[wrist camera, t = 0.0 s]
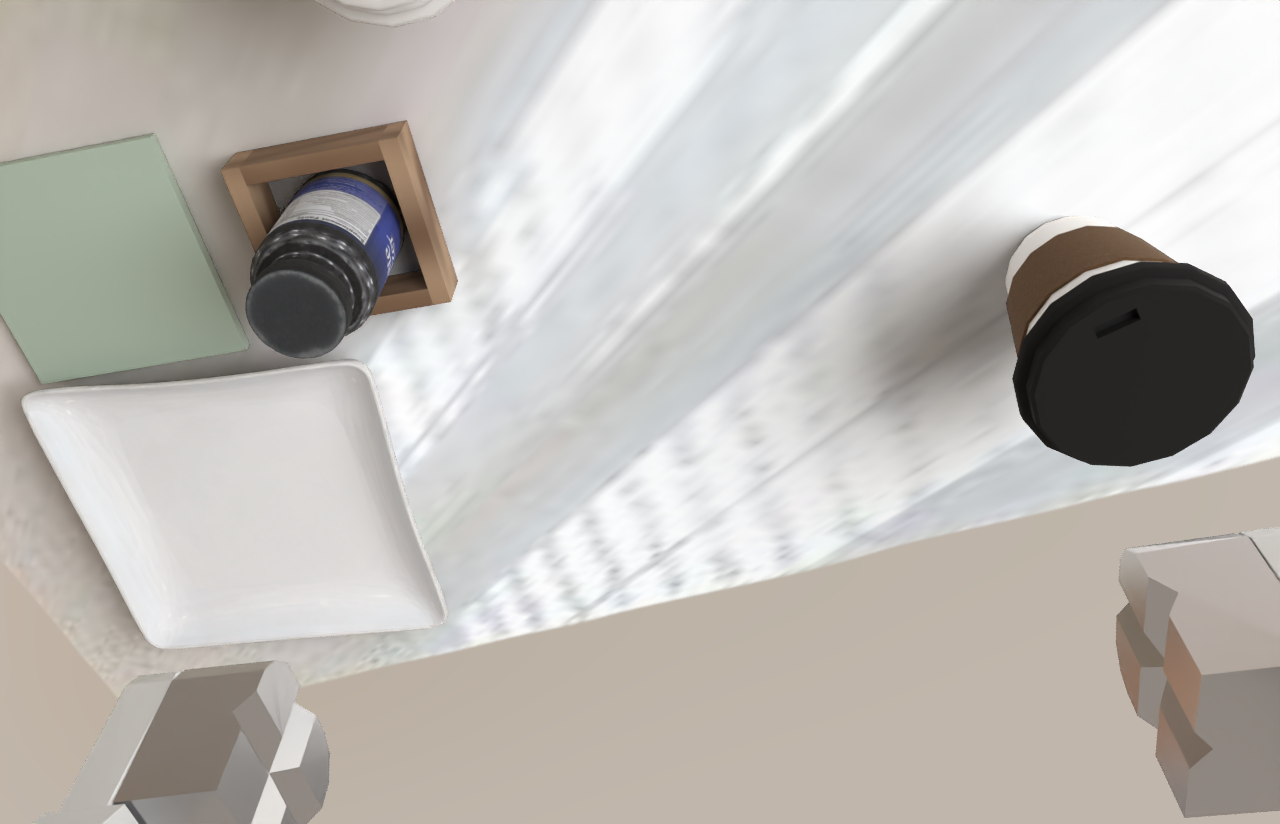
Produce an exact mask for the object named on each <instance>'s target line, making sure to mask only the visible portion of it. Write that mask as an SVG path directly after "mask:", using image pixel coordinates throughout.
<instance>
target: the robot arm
mask: <svg viewBox="0 0 1280 824" xmlns="http://www.w3.org/2000/svg"><path fill="white" fill-rule="evenodd" d="M1119 582H1120V584H1121V587H1122V589H1123V591H1124V593H1125V595H1126V597H1127V599H1128V601H1129V603H1128V604H1127V605H1126V606H1125V607H1124V609H1123V610H1122V611H1121V612H1120V613H1119V614H1118V615H1117V619H1116V620H1117V621H1116V646H1117V652H1118V658H1119V665H1120V671H1121V674H1122V677H1123V680H1124V683H1125V687H1126V690H1127V693H1128V695H1129V698H1130V700H1131V702H1132V704H1133V706H1134V709H1135V711H1136V713H1137V716H1139V717H1140V718H1142V719H1143V720H1145V721H1146V722H1148V723H1149V724H1151V725H1152V726H1154V727H1155V728H1157V729H1158V733H1157V745H1156V758H1157V759H1158V762H1159V764H1160V766H1161V768H1162V770H1163V772H1164V775H1165V777H1166V779H1167V781H1168V783H1169V785H1170V788H1171V789H1172V792H1173V794H1174V796H1175V798H1176V800H1177V803H1178V805H1179V807H1180V809H1181V811H1182V813H1183V815H1184V817H1185V818H1189V817H1201V816H1215V815H1228V814H1241V813H1254V812H1267V811H1280V527H1273V528H1266V529H1259V530H1252V531H1245V532H1240V533H1239V534H1227V535H1220V536H1213V537H1205V538H1198V539H1192V540H1184V541H1177V542H1170V543H1162V544H1155V545H1148V546H1141V547H1134V548H1126V549H1125V550H1124V552H1123V555H1122V557H1121V559H1120V569H1119ZM299 688H300V684H299V682H298V680H297V679H296V677H295V675H294V674H293V672H292V670H291V669H290V667H289V665H288V663H285V662H280V661H266V662H256V663H247V664H237V665H228V666H218V667H209V668H199V669H190V670H184V671H182V672H172V673H162V674H152V675H142V676H139V677H137V678H136V679H134V680H133V681H132V682H130V683H129V684H128V685H126V687H125V688H124V690H123V692H122V694H121V696H120V698H119V699H118V701H117V703H116V705H115V707H114V709H113V711H112V713H111V714H110V716H109V718H108V720H107V722H106V724H105V726H104V728H103V729H102V731H101V733H100V735H99V737H98V739H97V741H96V742H95V744H94V746H93V748H92V750H91V752H90V754H89V756H88V757H87V760H86V761H85V763H84V765H83V767H82V769H81V771H80V772H79V774H78V776H77V778H76V780H75V782H74V784H73V786H72V787H71V789H70V791H69V793H68V795H67V797H66V799H65V800H64V802H63V804H62V806H61V808H60V810H59V811H57V812H51V813H44V814H43V815H42V816H40V817H39V818H38V819H37V820H36V821H35V822H33V823H32V824H307V823H308V822H309V821H310V820H311V819H312V818H313V817H314V816H315V815H316V814H317V813H318V811H320V810H321V808H322V806H323V802H324V799H325V795H326V791H327V788H328V784H329V758H330V753H329V749H328V744H327V740H326V736H325V732H324V730H323V728H322V726H321V724H320V722H319V720H318V718H317V716H316V715H315V714H313V713H311V712H309V711H308V710H306V709H305V708H303V707H301V706H300V705H298V704H296V703H295V699H296V696H297V693H298V691H299Z"/></svg>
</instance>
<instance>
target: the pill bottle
mask: <svg viewBox="0 0 1280 824" xmlns="http://www.w3.org/2000/svg"><path fill="white" fill-rule="evenodd" d="M404 235H405V224H404V220H403V216H402V215H401V213H400V209H399V204H398V202H397V201H396V199H395V197H394V196H393V195H392V194H391V192H390V191H389V190H388V189H387V188H386V187H385V186H384V185H383V184H381V183H380V182H378V181H376V180H375V179H373V178H371V177H369V176H367V175H365V174H363V173H360V172H356V171H352V170H345V169H339V170H331V171H327V172H323V173H320V174H317V175H315V176H314V177H313V178H311V179H310V180H309V181H307V182H306V183H305V184H304V185H303V186H302V188H301V189H300V190H299V191H298V193H297V194H296V195H295V197H294V198H293V199H292V201H291V202H290V204H289V205H288V206H287V208H286V209H285V210H284V212H283V213H282V215H281V216H280V218H279V219H278V221H277V222H276V223H275V225H274V226H273V228H272V229H271V230H270V232H269V233H268V235H267V236H266V238H265V239H264V240H263V242H262V243H261V244H260V246H259V247H258V249H257V251H256V253H255V256H254V257H253V260H252V265H251V272H250V281H251V288H250V290H249V292H248V294H247V298H246V314H247V318H248V321H249V324H250V326H251V328H252V329H253V331H254V332H255V334H256V335H257V336H258V337H259V338H260V339H261V340H262V341H263V342H264V343H265V344H266V345H267V346H269V347H271V348H272V349H274V350H275V351H277V352H279V353H281V354H284V355H287V356H290V357H294V358H314V357H318V356H322V355H324V354H326V353H328V352H330V351H331V350H333V349H334V348H335V347H336V346H337V345H338V344H339V343H340V342H341V340H342V339H343V337H344V336H347V335H348V334H350V333H351V332H353V331H355V330H357V329H358V328H359V327H361V326H362V324H363V323H364V322H365V321H366V320H367V318H368V317H369V316H370V314H371V313H372V310H373V308H374V306H375V304H376V301H377V299H378V297H379V295H380V293H381V290H382V288H383V286H384V284H385V282H386V280H387V278H388V276H389V273H390V271H391V269H392V267H393V265H394V262H395V260H396V258H397V256H398V253H399V251H400V249H401V247H402V244H403V241H404Z"/></svg>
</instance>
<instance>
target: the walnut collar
mask: <svg viewBox="0 0 1280 824" xmlns="http://www.w3.org/2000/svg"><path fill="white" fill-rule="evenodd" d="M381 160H385V163H386V166H387V169H388V172H389V175H390V178H391V181H392V184H393V187H394V190H395V193H396V196H397V199H398V202H399V205H400V208H401V211H402V214H403V217H404V220H405V223H406V226H407V229H408V232H409V235H410V237H411V240H412V243H413V246H414V249H415V252H416V255H417V258H418V261H419V264H420V267H421V271H416V272H410V273H404V274H398V275H392V276H388V278H387V280H386V282H385V284H384V286H383V288H382V290H381V293H380V295H379V297H378V299H377V301H376V304H375V306H374V308H373V310H372V313H371V314H370V315H376V314H382V313H388V312H394V311H400V310H406V309H412V308H418V307H424V306H430V305H436V304H441V303H447V302H451V300H452V297H453V294H454V291H455V288H456V285H457V282H458V280H457V277H456V274H455V270H454V267H453V264H452V261H451V258H450V255H449V252H448V248H447V245H446V242H445V239H444V236H443V233H442V230H441V226H440V223H439V220H438V217H437V214H436V211H435V208H434V204H433V201H432V198H431V195H430V192H429V189H428V186H427V182H426V179H425V176H424V173H423V170H422V167H421V164H420V160H419V157H418V154H417V151H416V148H415V145H414V142H413V138H412V135H411V132H410V129H409V126H408V123H407V121H402V122H396V123H391V124H386V125H381V126H375V127H370V128H365V129H360V130H354V131H349V132H344V133H338V134H333V135H328V136H323V137H317V138H312V139H307V140H302V141H296V142H291V143H286V144H280V145H275V146H270V147H265V148H259V149H254V150H249V151H244V152H238V153H236V154H235V155H234V156H233V157H232V158H231V159H230V161H229V162H228V163H227V164H226V165H225V166H224V167H223V168H222V170H221V173H222V175H223V178H224V180H225V182H226V185H227V187H228V190H229V192H230V194H231V197H232V199H233V201H234V204H235V206H236V208H237V211H238V213H239V215H240V218H241V220H242V223H243V225H244V227H245V230H246V232H247V234H248V237H249V239H250V241H251V244H252V246H253V248H254V251H255V253H256V251H257V249H258V247H259V246H260V244H261V243H262V242H263V240H264V239H265V238H266V236H267V235H268V233H269V232H270V230H271V229H272V228H273V226H274V225H275V223H276V222H277V221H278V219H279V218H280V216H281V215H280V213H279V210H278V208H277V205H276V203H275V200H274V198H273V195H272V193H271V190H270V188H269V185H268V183H267V182H268V181H274V180H279V179H285V178H290V177H295V176H301V175H306V174H311V173H317V172H322V171H328V170H333V169H338V168H344V167H349V166H355V165H360V164H365V163H371V162H376V161H381Z"/></svg>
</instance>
